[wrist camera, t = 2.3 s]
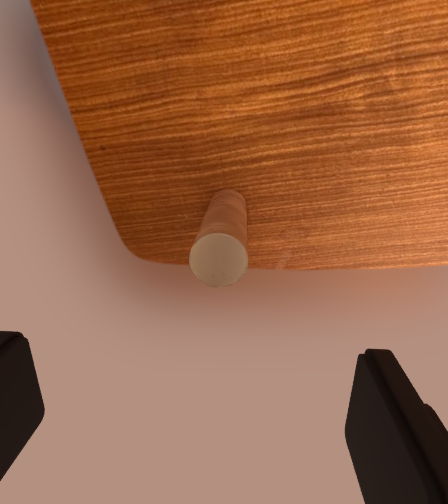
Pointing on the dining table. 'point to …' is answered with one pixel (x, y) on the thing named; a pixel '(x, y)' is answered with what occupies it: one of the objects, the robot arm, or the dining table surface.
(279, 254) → the dining table surface
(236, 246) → the stirring stick
